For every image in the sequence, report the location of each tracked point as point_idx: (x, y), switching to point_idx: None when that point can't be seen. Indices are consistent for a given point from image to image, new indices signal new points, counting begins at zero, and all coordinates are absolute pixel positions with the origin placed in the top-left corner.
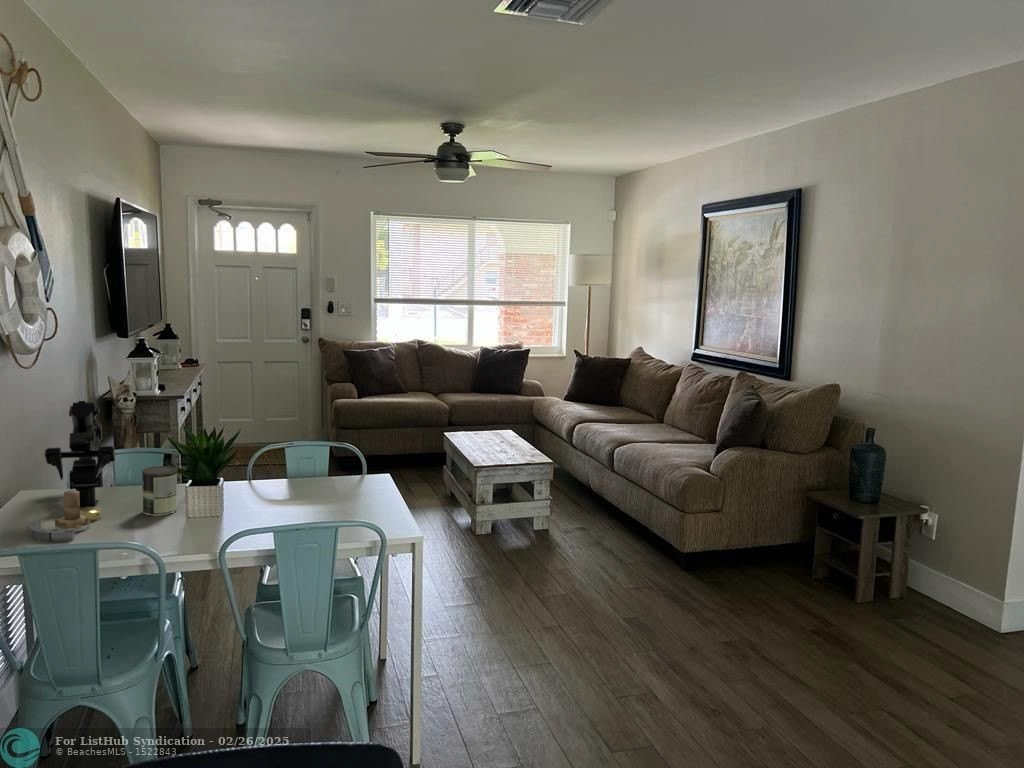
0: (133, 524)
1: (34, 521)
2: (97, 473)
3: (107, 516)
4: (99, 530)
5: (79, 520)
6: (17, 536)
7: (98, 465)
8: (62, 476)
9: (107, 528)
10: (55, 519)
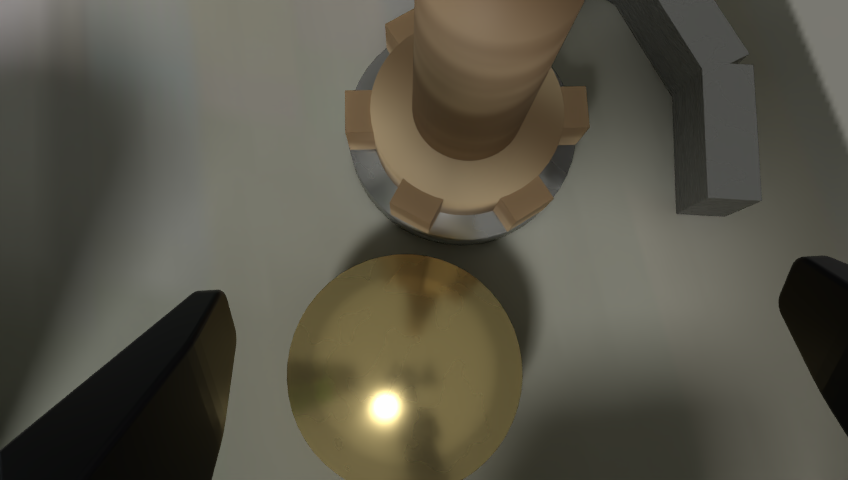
0: (55, 155)
1: (733, 141)
2: (154, 331)
3: (258, 398)
4: (276, 66)
5: (402, 40)
6: (757, 44)
7: (26, 474)
8: (819, 323)
9: (228, 99)
10: (587, 107)
